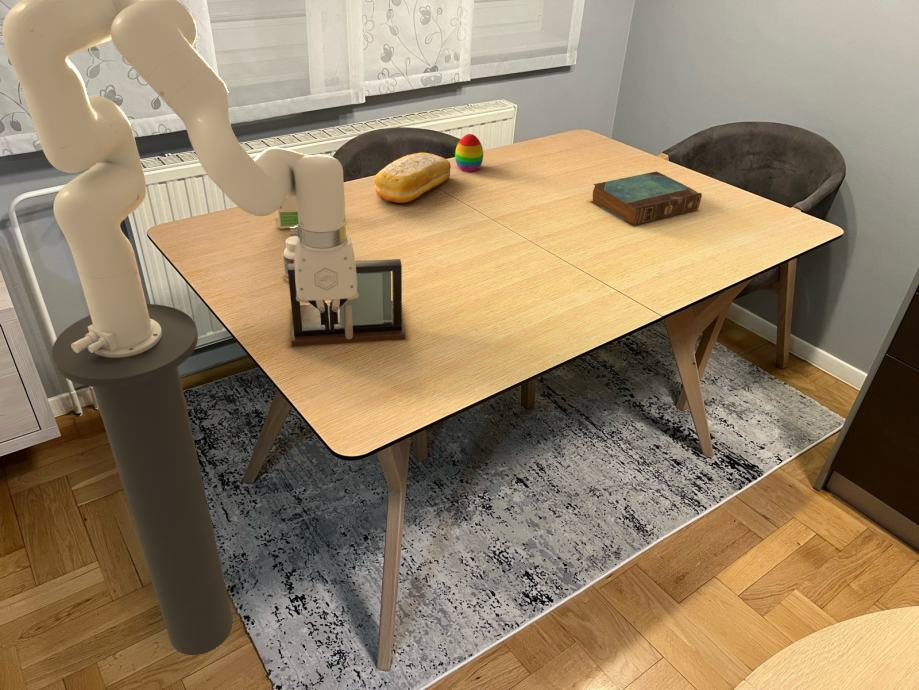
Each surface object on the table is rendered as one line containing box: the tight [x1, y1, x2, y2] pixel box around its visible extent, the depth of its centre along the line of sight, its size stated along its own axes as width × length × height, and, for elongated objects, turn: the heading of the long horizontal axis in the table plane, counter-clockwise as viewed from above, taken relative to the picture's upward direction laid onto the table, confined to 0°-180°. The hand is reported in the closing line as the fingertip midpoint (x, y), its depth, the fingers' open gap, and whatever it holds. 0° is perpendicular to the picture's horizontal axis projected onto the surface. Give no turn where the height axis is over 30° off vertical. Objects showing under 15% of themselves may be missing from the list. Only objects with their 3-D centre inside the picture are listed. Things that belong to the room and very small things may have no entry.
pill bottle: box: [283, 235, 298, 282], centre depth 153 cm, size 5×5×9 cm
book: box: [590, 171, 703, 227], centre depth 194 cm, size 23×18×5 cm
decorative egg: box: [454, 133, 484, 172], centre depth 210 cm, size 8×8×10 cm
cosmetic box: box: [276, 196, 299, 229], centre depth 173 cm, size 8×7×16 cm
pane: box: [339, 272, 383, 339], centre depth 131 cm, size 7×8×11 cm
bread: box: [374, 152, 452, 204], centre depth 196 cm, size 13×26×8 cm, turn 154°
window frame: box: [288, 258, 406, 347], centre depth 137 cm, size 12×21×15 cm, turn 100°
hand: (329, 327), depth 129 cm, fingers closed
